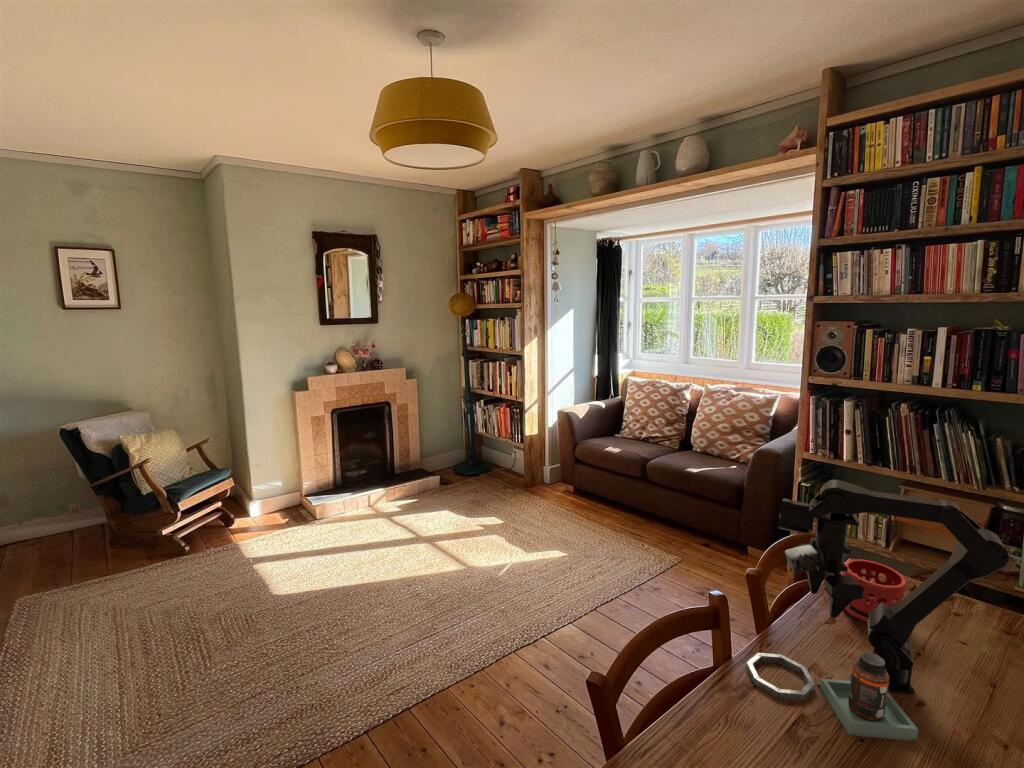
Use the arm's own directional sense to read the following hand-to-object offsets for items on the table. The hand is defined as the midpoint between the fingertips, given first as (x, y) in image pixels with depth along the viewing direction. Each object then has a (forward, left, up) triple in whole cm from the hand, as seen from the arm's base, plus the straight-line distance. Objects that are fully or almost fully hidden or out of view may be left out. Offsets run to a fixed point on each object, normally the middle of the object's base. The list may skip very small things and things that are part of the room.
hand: (823, 604), depth 117 cm
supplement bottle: (-2, +16, -13) cm, 20 cm away
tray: (-2, +16, -13) cm, 21 cm away
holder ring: (+11, +8, -13) cm, 19 cm away
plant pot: (-21, -19, -13) cm, 31 cm away
